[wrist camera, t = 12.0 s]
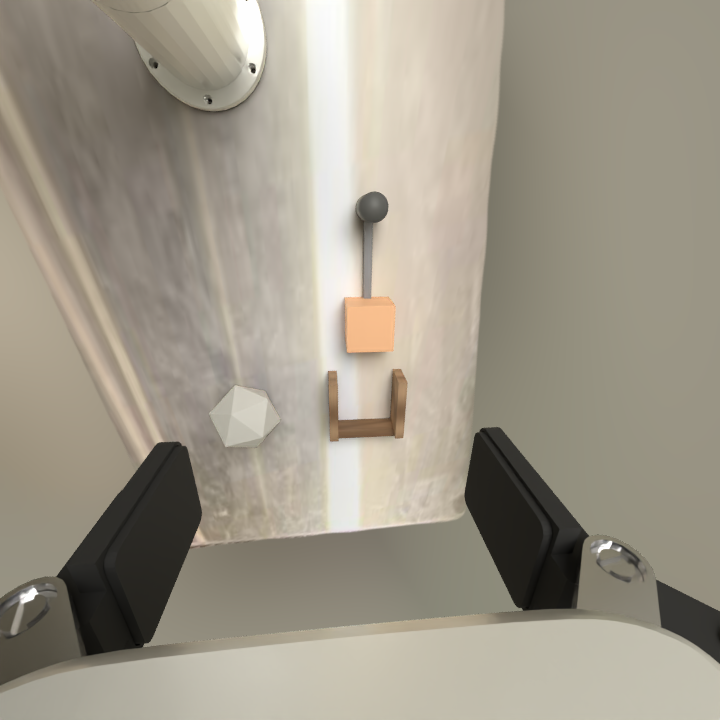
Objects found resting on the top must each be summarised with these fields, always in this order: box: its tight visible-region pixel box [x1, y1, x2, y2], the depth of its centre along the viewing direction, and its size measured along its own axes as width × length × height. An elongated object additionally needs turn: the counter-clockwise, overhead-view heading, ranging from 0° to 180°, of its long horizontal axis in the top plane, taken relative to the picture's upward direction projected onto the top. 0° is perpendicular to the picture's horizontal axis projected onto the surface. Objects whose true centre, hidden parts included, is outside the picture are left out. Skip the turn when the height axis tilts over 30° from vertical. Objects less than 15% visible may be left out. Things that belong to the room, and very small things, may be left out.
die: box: [209, 385, 281, 448], centre depth 47 cm, size 8×9×10 cm
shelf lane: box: [328, 369, 407, 441], centre depth 50 cm, size 10×11×4 cm
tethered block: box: [345, 192, 395, 353], centre depth 42 cm, size 18×6×6 cm, turn 0°
